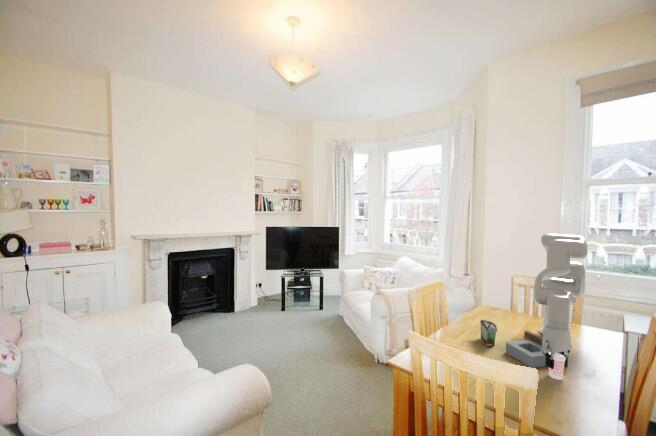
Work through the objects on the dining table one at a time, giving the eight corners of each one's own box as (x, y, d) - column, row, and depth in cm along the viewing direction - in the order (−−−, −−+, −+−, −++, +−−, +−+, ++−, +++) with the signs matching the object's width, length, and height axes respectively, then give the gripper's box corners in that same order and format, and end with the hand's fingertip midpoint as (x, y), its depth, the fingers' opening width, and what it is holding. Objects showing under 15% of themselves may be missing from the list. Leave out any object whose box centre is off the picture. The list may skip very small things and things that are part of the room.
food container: (501, 349, 145) (501, 330, 144) (487, 348, 146) (488, 328, 146) (492, 338, 157) (492, 320, 156) (479, 337, 158) (480, 319, 158)
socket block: (528, 349, 145) (529, 339, 145) (557, 364, 132) (557, 353, 131) (505, 352, 142) (505, 342, 141) (532, 368, 128) (532, 357, 128)
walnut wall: (527, 346, 149) (527, 330, 148) (567, 367, 129) (568, 349, 129) (523, 346, 148) (524, 331, 148) (564, 367, 129) (565, 350, 128)
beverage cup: (568, 381, 119) (569, 348, 118) (551, 380, 120) (552, 346, 119) (559, 373, 125) (560, 341, 124) (543, 371, 126) (544, 339, 125)
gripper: (564, 318, 127) (562, 358, 128) (532, 322, 123) (531, 364, 124) (583, 325, 120) (581, 368, 121) (550, 329, 116) (548, 374, 116)
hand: (556, 365), depth 122 cm, fingers closed on beverage cup, 6 cm apart
